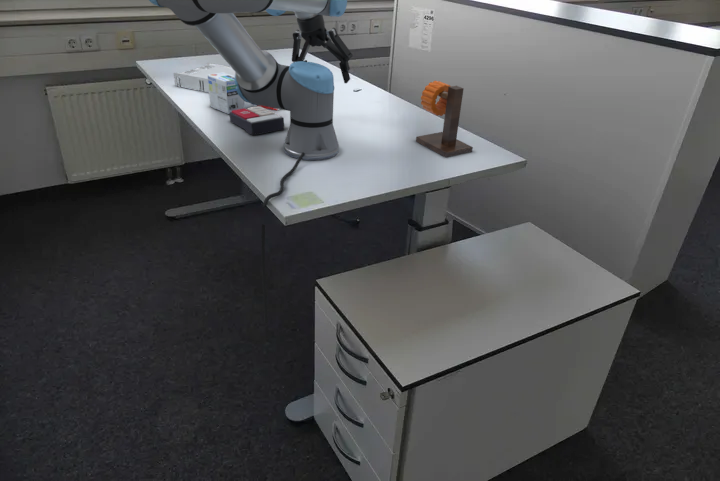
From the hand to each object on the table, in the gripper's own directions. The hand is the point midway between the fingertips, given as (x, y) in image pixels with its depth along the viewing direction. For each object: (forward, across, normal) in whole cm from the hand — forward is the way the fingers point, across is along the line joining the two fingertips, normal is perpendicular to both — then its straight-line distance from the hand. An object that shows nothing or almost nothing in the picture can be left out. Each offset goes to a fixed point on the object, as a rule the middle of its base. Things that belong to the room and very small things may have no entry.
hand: (328, 81), depth 174 cm
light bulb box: (+4, +35, +11) cm, 37 cm away
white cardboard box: (+7, +50, -9) cm, 51 cm away
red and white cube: (+9, +25, 0) cm, 26 cm away
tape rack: (+18, -37, +6) cm, 41 cm away
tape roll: (+10, -35, +2) cm, 36 cm away
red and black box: (+4, +17, +19) cm, 26 cm away
